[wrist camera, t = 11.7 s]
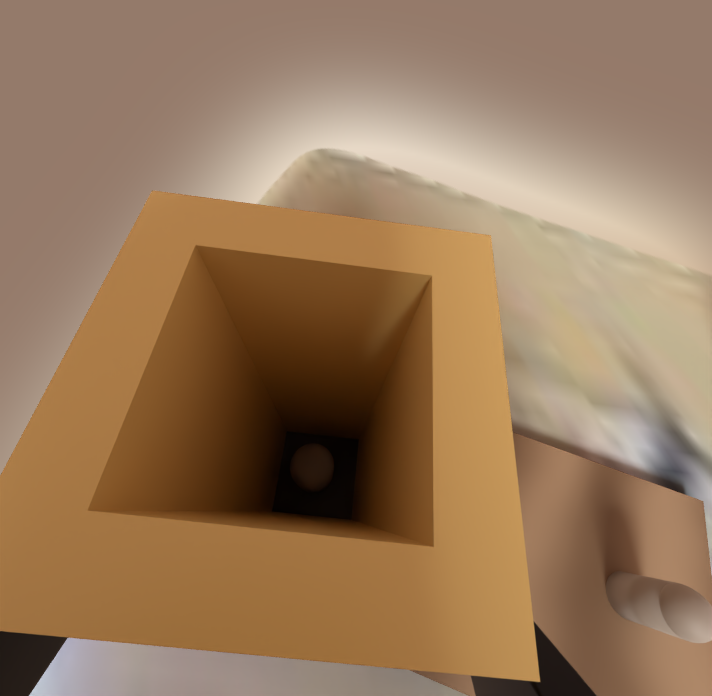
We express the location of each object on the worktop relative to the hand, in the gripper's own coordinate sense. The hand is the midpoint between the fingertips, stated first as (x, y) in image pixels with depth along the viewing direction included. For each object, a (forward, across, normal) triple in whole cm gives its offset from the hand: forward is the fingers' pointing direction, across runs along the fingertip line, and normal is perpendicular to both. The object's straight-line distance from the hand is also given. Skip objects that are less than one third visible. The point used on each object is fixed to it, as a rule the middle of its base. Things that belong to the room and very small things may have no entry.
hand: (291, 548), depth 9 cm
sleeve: (+7, 0, +3) cm, 7 cm away
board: (+6, -7, +5) cm, 11 cm away
